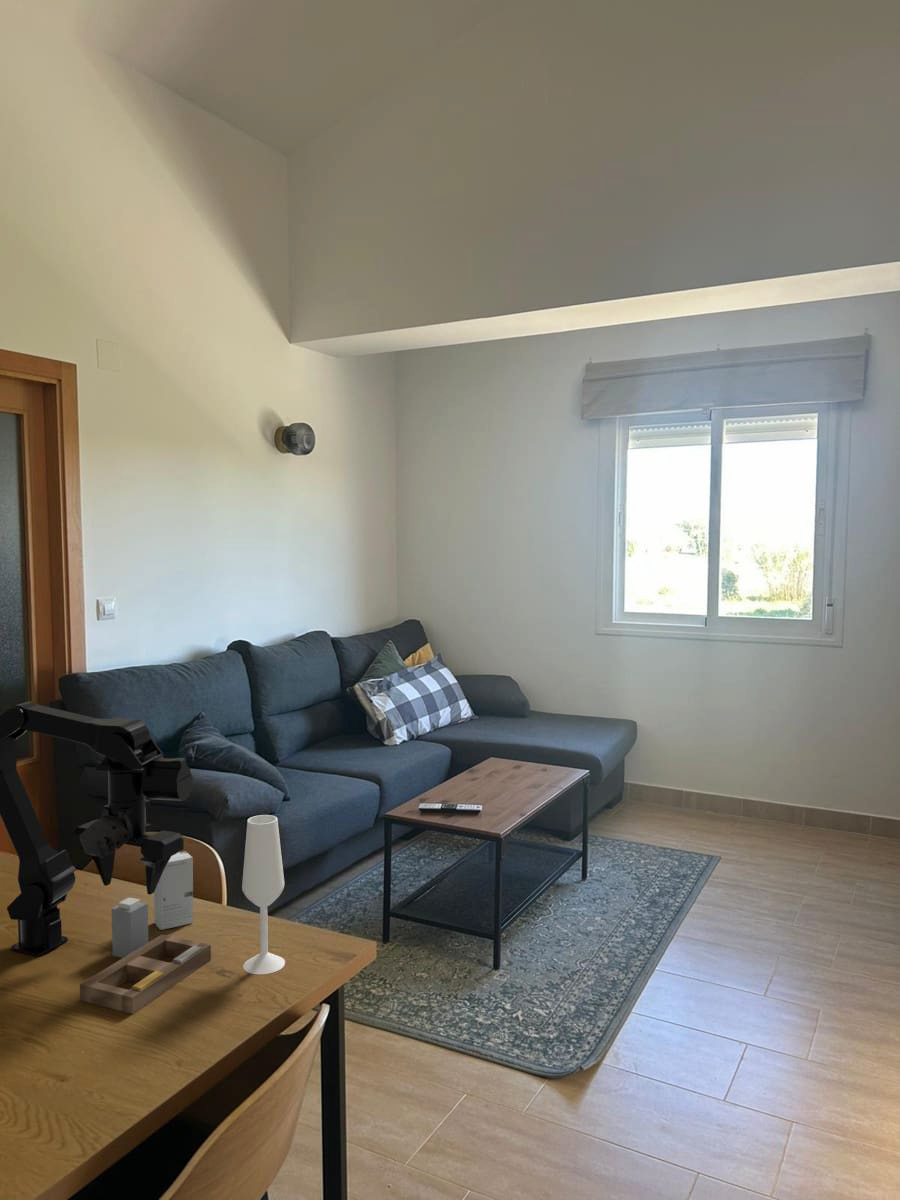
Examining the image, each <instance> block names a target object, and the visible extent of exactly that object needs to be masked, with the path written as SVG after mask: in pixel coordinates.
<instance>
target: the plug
mask: <svg viewBox="0 0 900 1200" xmlns="http://www.w3.org/2000/svg"><path fill="white" fill-rule="evenodd" d="M148 909H149V903H147V902H143V901H141V899H138V898H133V897H127V898H124V899H123V900H121V901H119V902H118V905H116V906H114V907H112V908H111V936H112V937H111V938H112V940H111V941H112V945H111V946H112V956H113V957H118V958H121V959H122V958H124V957H126V956H127V955H129V954H130V953H132V952H134V951H135V950H137V949H139V948H140V947H142V946H144V945H145V944H147V943H149V942H150V941H149V910H148Z"/></svg>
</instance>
